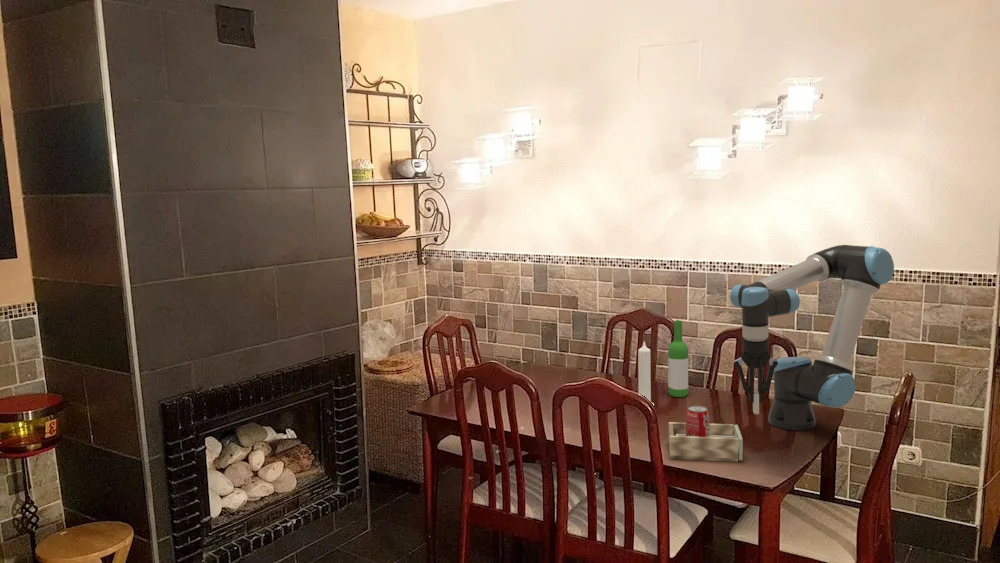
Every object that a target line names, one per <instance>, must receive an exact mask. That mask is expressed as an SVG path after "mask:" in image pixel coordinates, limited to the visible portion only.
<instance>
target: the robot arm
mask: <svg viewBox="0 0 1000 563" xmlns="http://www.w3.org/2000/svg"><path fill="white" fill-rule="evenodd" d="M894 273H895V263H894V260H893V257H892V255H891V253H890V252H889V251H888V250H887V249H885V248H883V247H876V246H873V245H872V246H867V245H866V246H863V245H853V244H852V245H851V244H839V245H835V246H831V247H828V248H825V249H822V250H820V251H818V252H815V253H813V254H810V255H809V256H807V257H806V259H805V260H804V261H801V262H799V263H797V264H794V265H792V266H790V267H788V268H785V269H782V270H780V271H778V272H776V273H773V274H771V275H769V276H766V277H764V278H762V279H760V280H757V281H755V282H752V283H750V284H744V283H743V284H736V285H735V286H734V287H732V288H731V290H730V294H729V299H730V302H731V305H733V306H734V307H736V308H740V309H741V320H742V327H741V328H742V330H741V331H742V335H741V336H742V341H741V342H742V343H741V344H742V347H741V348H742V353H741V354H740V357H738V358H737V359H733V363H734V365H735V367H736V369H737V371H738V376H739V377H740V382H741V385H742V390H743V391H744V392H747V393H748V399H749V401H748V402H750V404H752V412H753V414H754V415H760V404H763V403H764V402H763V400H764V396H763V394H764V393H765V392H769V391H770V388H771V384H772V380H773V382H774V383H773V394H774V396H773V403H772V405H771V407H770V410H769V413H768V418H767V420H768V423H769V424H770V425H771V426H773V427H776V428H778V429H783V430H790V431H808V430H813V429H814V428H815V427H816V423H817V422H816V417H815V413H814V410H813V407H812V404H811V402H813V403H817V404H819V405H822V406H825V407H830V408H837V409H838V408H841V407H844V406H845V405H847V404H848V403H849V402H850V401H851V400H852V399H853V397H854V395H855V393H856V389H857V388H856V387H857V385H856V379H855V377H853V375H852V374H853V371H854V370H853V368H852V367H851V364H850V363H851V360H852V358H853V354H854V351H855V348H856V346H857V345H856V344H857V342H858V340H859V337H860V332H861V330H862V327H863V323H864V320H865V318H866V315H867V311H868V308H869V305H870V301H871V299H872V296H873V295H874V294H876V293H878V292H879V291H880V289H881V285H886V284H888V283H889V282H890V281H891V280H892V279H893V275H894ZM828 279H836V280H837V279H841V280H840V283H841V285H842V286H843V288H842V292H841V295H840V298H839V302H838V305H837V306H836V310H835V314H834V317H833V320H832V322H831V326H830V329H829V332H828V334H827V338H826V340H825V345H824V347H823V350H822V352H821V353H822V354H821V355H820V356H818V357H816V358H814V361H813V362H812V359H811V358H810V357H807V356H806V357H805V356H789V357H782V358H778V359H775V358H773V357H771V355H770V351H769V350H770V349H769V347H770V346H769V344H770V343H769V339H768V338H769V318H771V317H776V316H782V315H788V314H791V313H795V312H796V311H798V309H799V308H800V304H801V302H800V300H801V299H800V296H799V294H798V292H797V291H796V290H797V289H800V288H803V287H804V286H806V285H809V284H811V283H813V282H824V281H826V280H828ZM743 363H744V364H745V366H747V368H748V385H747V382H746V378H745V373H744V370H743V367H742V366H743ZM767 364H769V365H768V368H767V369H768V370H767V373H766V375H765V376H766V377H765V381H764V379H763V378H764V367H765V366H766V365H767ZM755 369H756V370H757V390H755ZM773 377H774V378H773Z"/></svg>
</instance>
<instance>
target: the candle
mask: <svg viewBox="0 0 1000 563" xmlns="http://www.w3.org/2000/svg"><path fill="white" fill-rule="evenodd" d="M646 344H647V343H646V341H643V342H642V346H641V347H640V348H639V349H637V350H638V351H637V356H638V357H637V358H638V360H637V361H638V362H637V363H638V364H637V368H638V371H637V374H638V377H637V378H638V380H637V382H638V390H637V391H638V395H639V394H641V395H643V396H645V397H646V398H647V399H648V400H649V401H650V402H651V403H652V404H653V406H654V407H655V403H654V402H652V400H651V399H652V398H651V392H652V391H651V389H652V388H651V349H650V348H649V347H647V345H646Z"/></svg>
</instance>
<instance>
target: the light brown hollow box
mask: <svg viewBox="0 0 1000 563" xmlns="http://www.w3.org/2000/svg"><path fill="white" fill-rule="evenodd" d="M734 425H735V424H733V423H732V424H731V423H709V435H723V436H734ZM676 434H686V422H677V421H675V422H674V421H669V422H668V446H669V447H668V450H669V451H668V452H669V459H670V460H686V461H687V460H690V461H707V462H708V461H709V462H731V463H733V462H734V463H738V462H739V459H738V438H719V437H693V436H676Z"/></svg>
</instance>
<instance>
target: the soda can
mask: <svg viewBox="0 0 1000 563" xmlns="http://www.w3.org/2000/svg"><path fill="white" fill-rule="evenodd" d="M685 423H686V436H693V437H709V424H710V414H709V412H708V408H707V407H706V406H703V405H691V406H688V409H687V411H686V414H685Z"/></svg>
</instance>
